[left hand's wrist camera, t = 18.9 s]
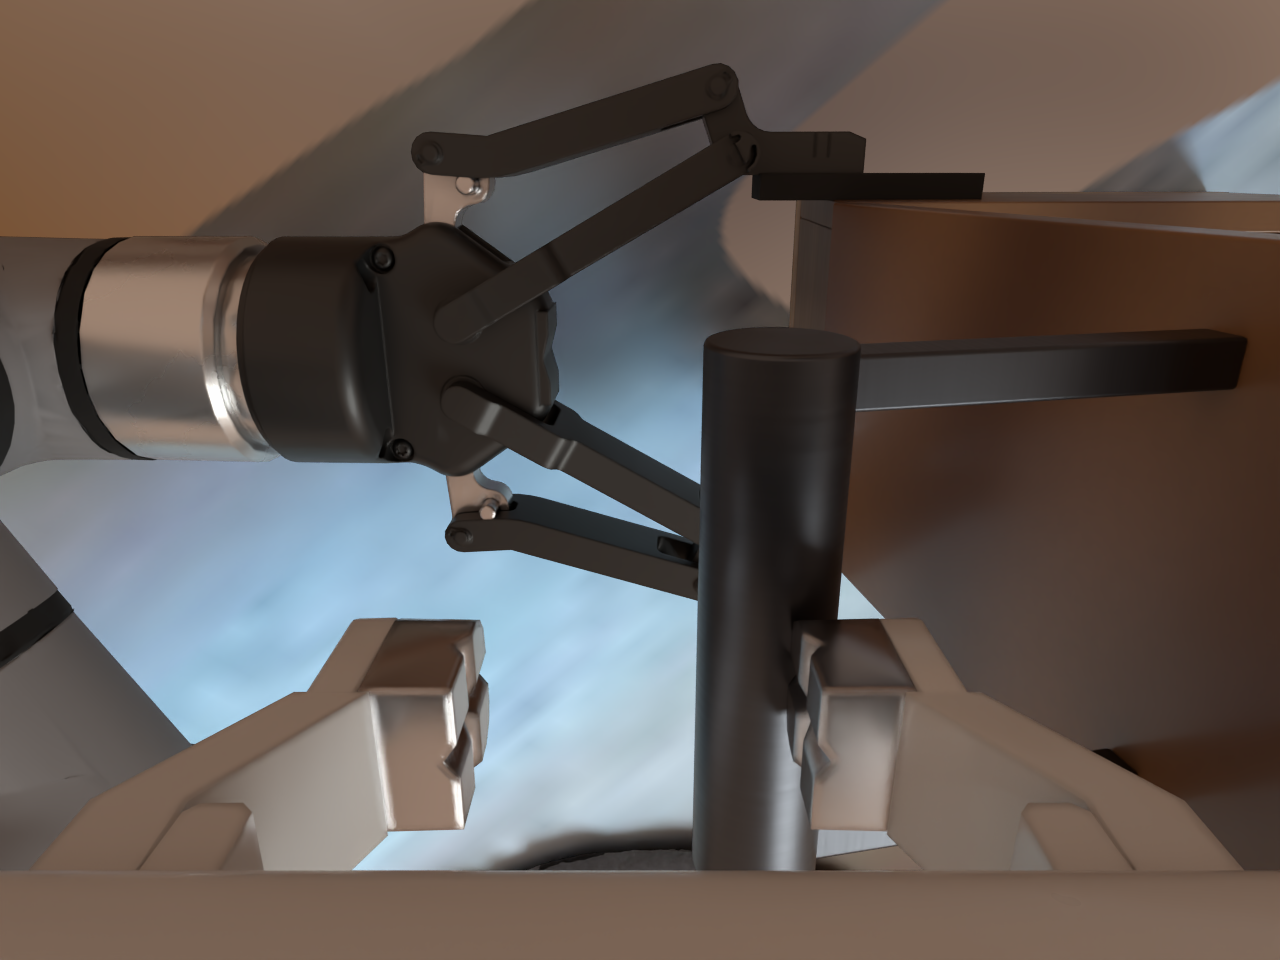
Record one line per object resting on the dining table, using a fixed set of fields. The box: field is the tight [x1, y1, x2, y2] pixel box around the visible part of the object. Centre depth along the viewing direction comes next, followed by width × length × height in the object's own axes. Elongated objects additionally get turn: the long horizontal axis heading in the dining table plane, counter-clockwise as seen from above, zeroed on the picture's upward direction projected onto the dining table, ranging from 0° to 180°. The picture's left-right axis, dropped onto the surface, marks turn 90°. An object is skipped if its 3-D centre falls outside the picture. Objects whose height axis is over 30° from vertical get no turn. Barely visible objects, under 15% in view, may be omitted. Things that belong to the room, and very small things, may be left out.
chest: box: [789, 192, 1280, 331], centre depth 29 cm, size 16×10×10 cm, turn 90°
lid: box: [692, 203, 1280, 871], centre depth 16 cm, size 16×10×8 cm
